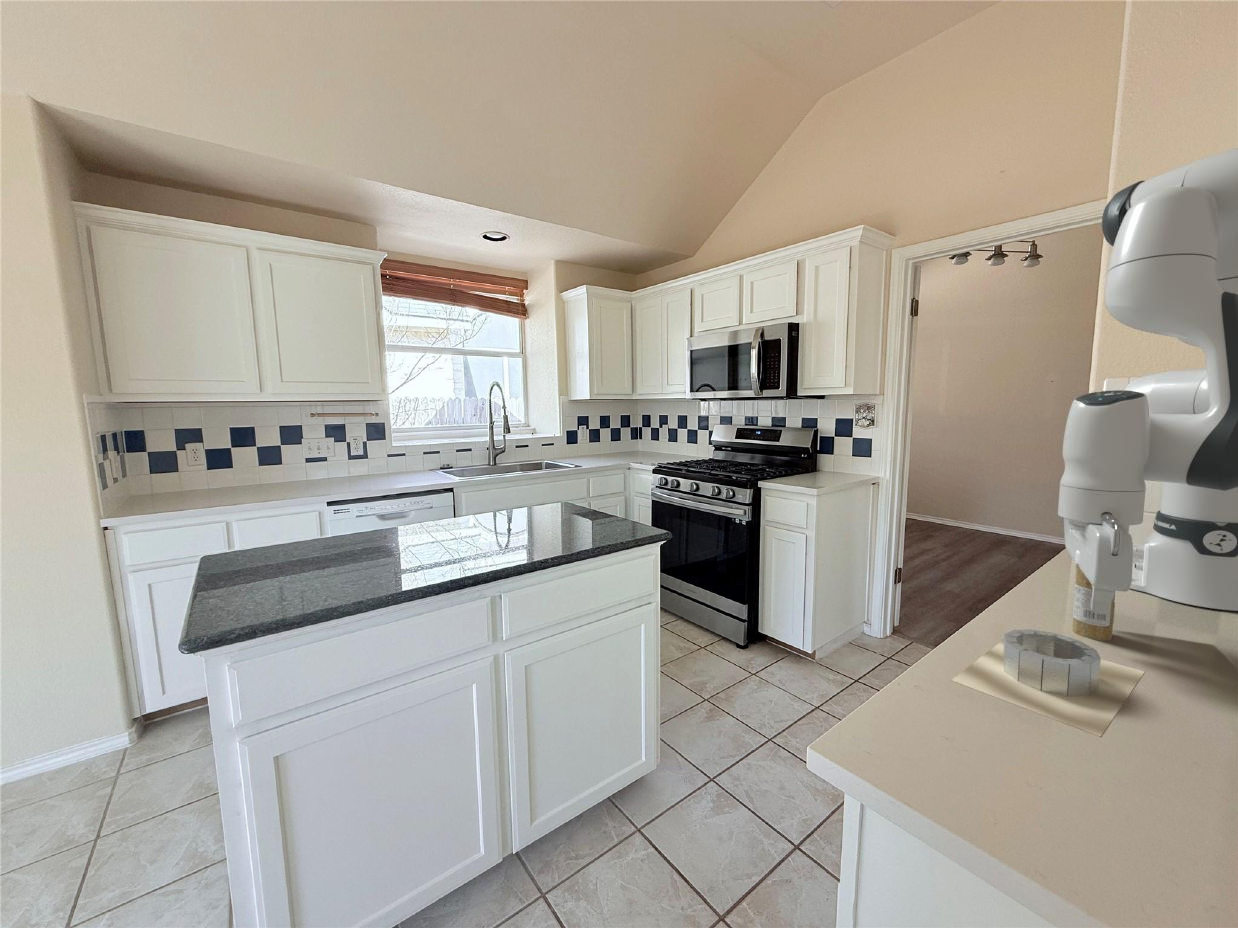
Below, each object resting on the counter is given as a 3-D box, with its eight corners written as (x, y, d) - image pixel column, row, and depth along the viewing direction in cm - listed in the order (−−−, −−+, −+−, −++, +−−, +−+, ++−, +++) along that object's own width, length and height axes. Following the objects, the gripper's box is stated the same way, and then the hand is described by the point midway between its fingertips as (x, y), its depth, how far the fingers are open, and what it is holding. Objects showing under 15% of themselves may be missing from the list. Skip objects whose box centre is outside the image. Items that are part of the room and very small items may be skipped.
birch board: (1010, 641, 76) (1011, 633, 76) (1143, 680, 65) (1144, 671, 64) (951, 688, 65) (951, 680, 64) (1099, 747, 53) (1100, 736, 53)
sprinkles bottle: (1116, 642, 74) (1123, 552, 73) (1106, 651, 72) (1114, 559, 70) (1075, 631, 78) (1081, 545, 77) (1065, 639, 76) (1071, 551, 74)
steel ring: (1000, 652, 71) (1002, 624, 70) (1087, 668, 66) (1089, 638, 65) (1006, 683, 63) (1008, 653, 63) (1105, 704, 58) (1108, 671, 58)
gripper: (1154, 524, 62) (1144, 633, 64) (1111, 496, 79) (1103, 582, 81) (1085, 519, 66) (1077, 622, 67) (1058, 493, 83) (1051, 576, 84)
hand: (1091, 600), depth 74 cm, fingers open, 8 cm apart
